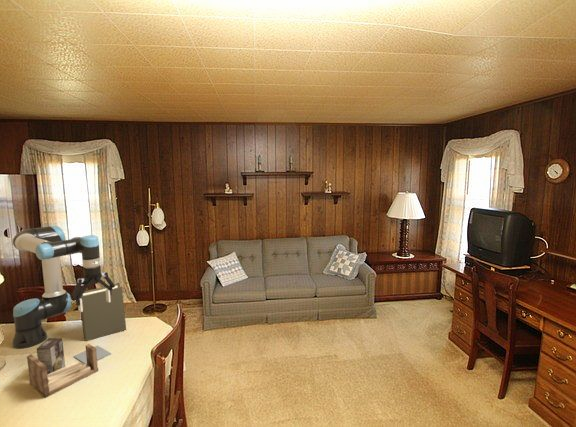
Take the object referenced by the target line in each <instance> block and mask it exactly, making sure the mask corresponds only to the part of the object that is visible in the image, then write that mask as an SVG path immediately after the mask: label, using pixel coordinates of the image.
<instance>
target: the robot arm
mask: <svg viewBox="0 0 576 427" xmlns="http://www.w3.org/2000/svg"><path fill="white" fill-rule="evenodd" d="M12 245H13V247H14V248H15V249H17V250H19V251H22V252H31V253H33V254H35V255H36V257H37V258H38V260H41V266H42V276H43V285H44V286H43V287H44V293H43V294H42V295H41V296H42V298H41V299H39V298H29V299H27V300H23V301H20V302H18V303H17V304H16V305H15V306H13V310H12V311H13V314H12V317H13V320H14V322H13V323H14V329H15V333H14V337H13V340H12V347H13V348H14V349H26V348H30V347H34V346H36V345H39V344H42V343H44V342H45V341H46V339H47V338H48V335H47V331H46V329H45V328H44V326H43V323H42V321H44V320H46V319H50V318H52V317H56V316H59V315H63V314H65V313H67V312H69V311H70V309H71V307H72V300H73V301H75V305H76V306H78V307H77V308H78V310H77V311H79V312H80V313H81V312H83V307H82V299H81V296H82V295H83V293H84V292H85V291H87V290H88V288H89V287H90V286H93V285H97V284H98V283H99V284H100V285H102V286H103V287H106V288H107V289H106V301H107V302H111V300H110V295H112V292H111V290H112V288H114V287H115V285H114V284H115V283H113V281H112V280H111V278H110V277H109V274H108V272H106V271H103V272H102V267H101V255H100V253H101V252H100V241H99V237H98V236H97V235H94V234H93V235H84V236H75V237H72V238H70V239H66V234H65V233H64V230H63V229H62V228H61V227H60V226H58V225H49V226H43V227H35V228H26V229H23V230H21V231H19V232H18V233H17V234H15V235H14V236H13V238H12ZM74 254H81V260H82V271H83V277H82V278H77V279H76V285H75V286H74V289H73V292H72V294H70V293H68V292H67V290H65V289H64V287H63V286H64V285H63V278H62V277H63V276H62V267H61V257H64V256H68V255H69V256H70V255H74ZM102 277H103V278H104V279H105V281H106V282H107V283H108V284H107V283H106V282H105V281H103V280H102ZM83 282H84V283H83ZM81 286H82V287H81Z"/></svg>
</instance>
